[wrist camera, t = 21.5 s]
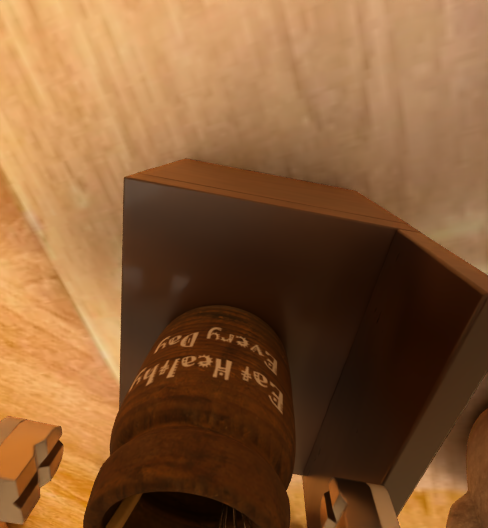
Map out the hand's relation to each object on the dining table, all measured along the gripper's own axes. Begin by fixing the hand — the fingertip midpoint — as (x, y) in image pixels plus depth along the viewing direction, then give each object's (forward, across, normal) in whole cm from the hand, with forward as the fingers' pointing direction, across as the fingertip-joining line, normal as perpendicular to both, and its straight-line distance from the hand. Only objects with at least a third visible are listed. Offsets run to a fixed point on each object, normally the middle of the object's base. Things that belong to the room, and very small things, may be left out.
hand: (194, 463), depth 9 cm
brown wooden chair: (+14, -1, 0) cm, 14 cm away
